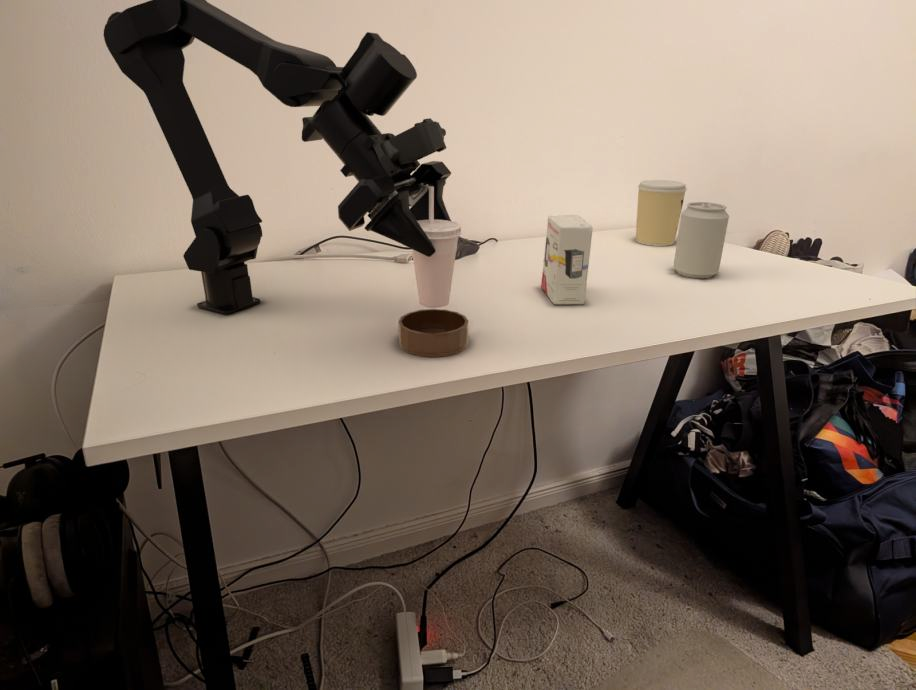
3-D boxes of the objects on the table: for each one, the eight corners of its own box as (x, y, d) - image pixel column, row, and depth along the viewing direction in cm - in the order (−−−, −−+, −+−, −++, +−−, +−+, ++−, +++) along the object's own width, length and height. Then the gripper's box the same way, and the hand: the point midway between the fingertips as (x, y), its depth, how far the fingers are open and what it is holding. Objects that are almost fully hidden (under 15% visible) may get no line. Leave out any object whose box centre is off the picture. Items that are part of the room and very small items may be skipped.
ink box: (540, 288, 97) (545, 214, 93) (571, 287, 98) (577, 214, 93) (553, 306, 89) (559, 226, 85) (586, 305, 90) (594, 226, 85)
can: (672, 277, 103) (683, 206, 99) (672, 266, 110) (682, 199, 105) (719, 281, 101) (733, 209, 97) (716, 269, 108) (728, 201, 103)
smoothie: (437, 291, 79) (437, 181, 73) (470, 304, 75) (474, 188, 69) (397, 301, 75) (395, 186, 69) (430, 315, 71) (430, 194, 65)
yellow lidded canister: (687, 245, 124) (696, 185, 119) (646, 248, 122) (655, 187, 117) (661, 235, 132) (669, 179, 128) (623, 237, 130) (630, 180, 125)
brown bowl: (385, 347, 75) (384, 324, 74) (424, 325, 82) (423, 304, 81) (444, 362, 71) (444, 339, 70) (479, 338, 78) (480, 316, 77)
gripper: (356, 94, 59) (459, 219, 59) (437, 92, 75) (517, 191, 75) (296, 172, 65) (390, 285, 65) (383, 155, 81) (457, 246, 81)
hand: (444, 247), depth 72 cm, fingers closed on smoothie, 6 cm apart
